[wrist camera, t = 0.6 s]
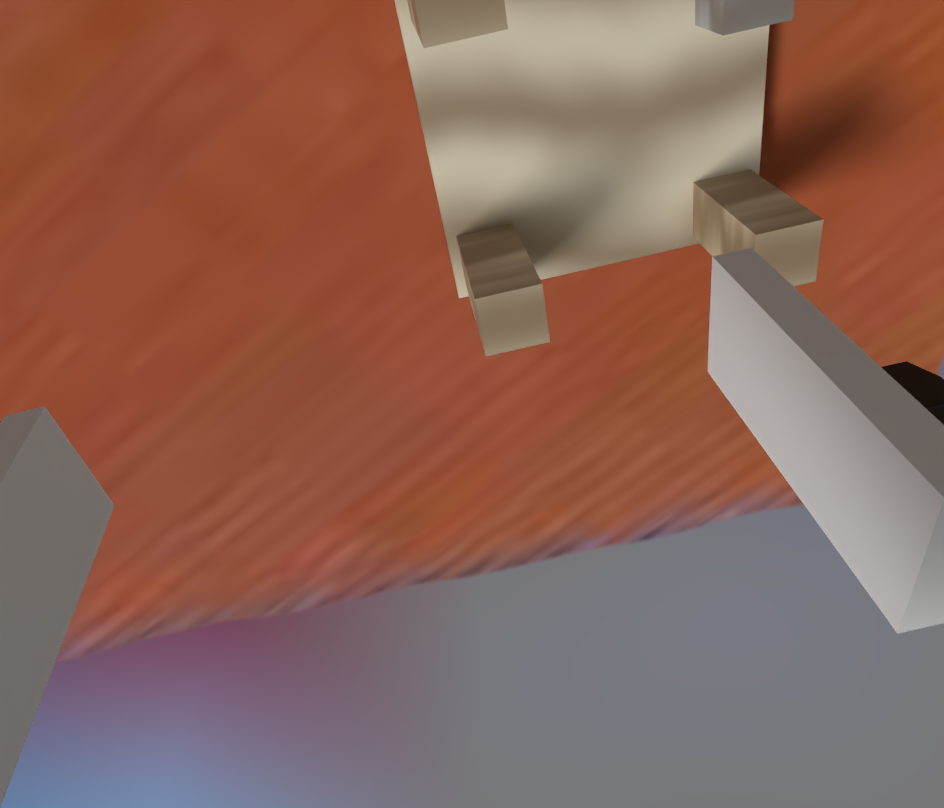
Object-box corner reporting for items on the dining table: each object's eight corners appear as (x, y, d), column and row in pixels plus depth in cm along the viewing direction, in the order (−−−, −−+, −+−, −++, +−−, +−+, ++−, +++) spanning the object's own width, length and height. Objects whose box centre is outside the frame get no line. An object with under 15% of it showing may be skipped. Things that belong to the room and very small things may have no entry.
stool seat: (378, -76, 29) (384, -68, 22) (770, -165, 29) (889, -183, 22) (457, 289, 39) (477, 367, 32) (747, 223, 39) (824, 288, 32)
